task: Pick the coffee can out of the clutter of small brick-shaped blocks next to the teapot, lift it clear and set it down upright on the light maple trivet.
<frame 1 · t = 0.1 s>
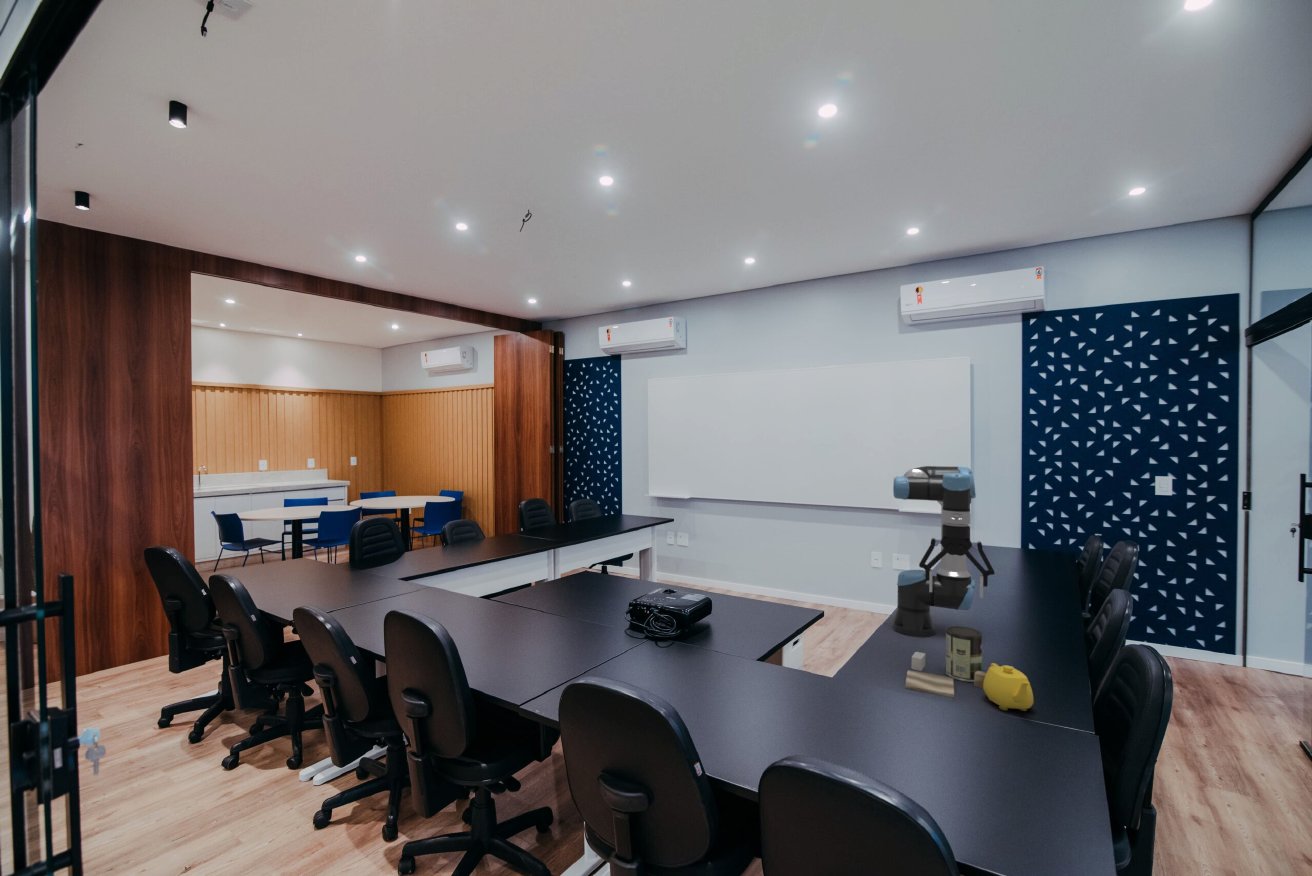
hand: (955, 594, 172), 28 cm above the table, fingers open, 13 cm apart
trivet: (929, 684, 173), on the table
coffee can: (963, 675, 180), on the table
teapot: (1008, 706, 159), on the table
beech brick: (986, 688, 171), on the table
off-white brick: (918, 667, 186), on the table
pale green brick: (1011, 682, 175), on the table
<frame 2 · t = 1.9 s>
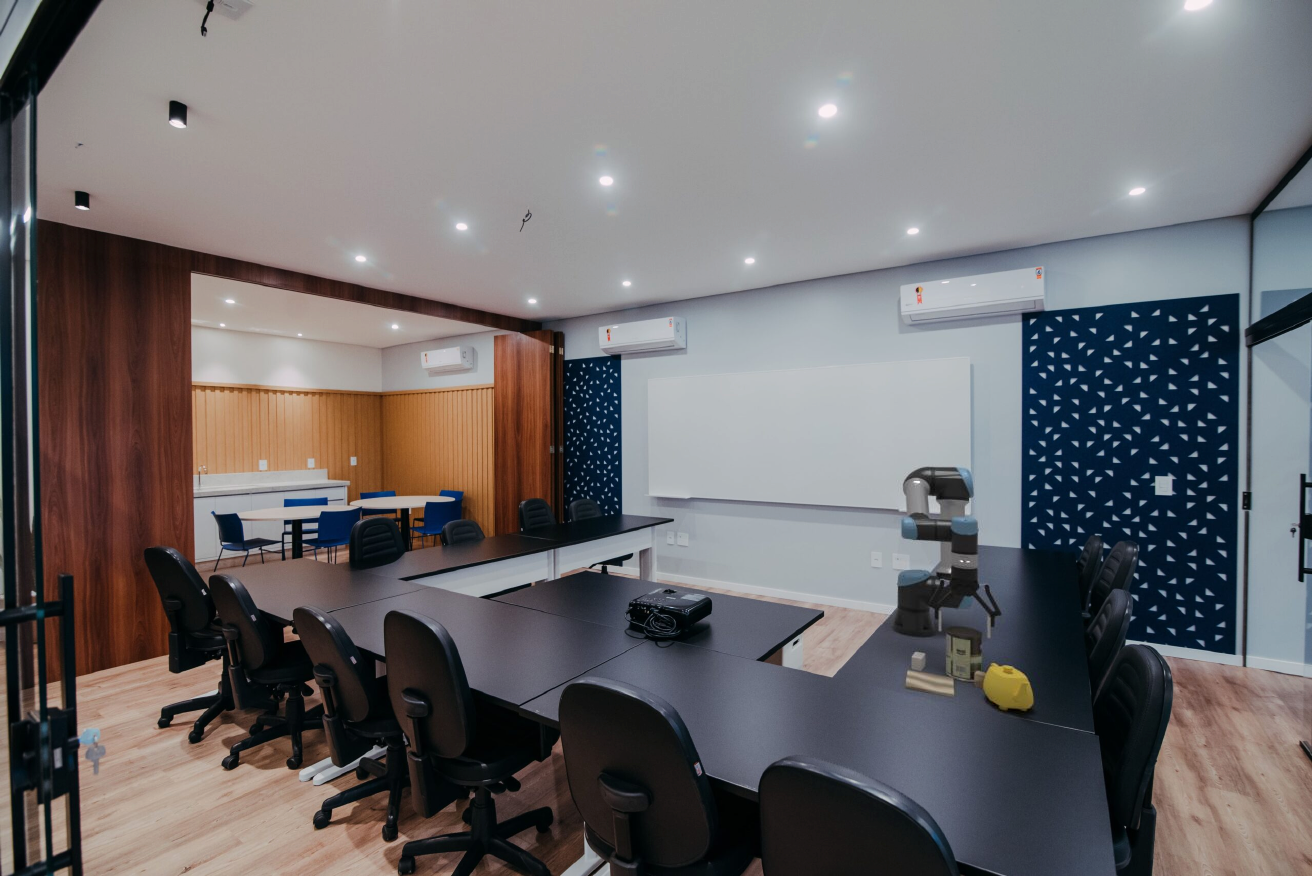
hand: (963, 633, 179), 13 cm above the table, fingers open, 13 cm apart
nothing on the table moved.
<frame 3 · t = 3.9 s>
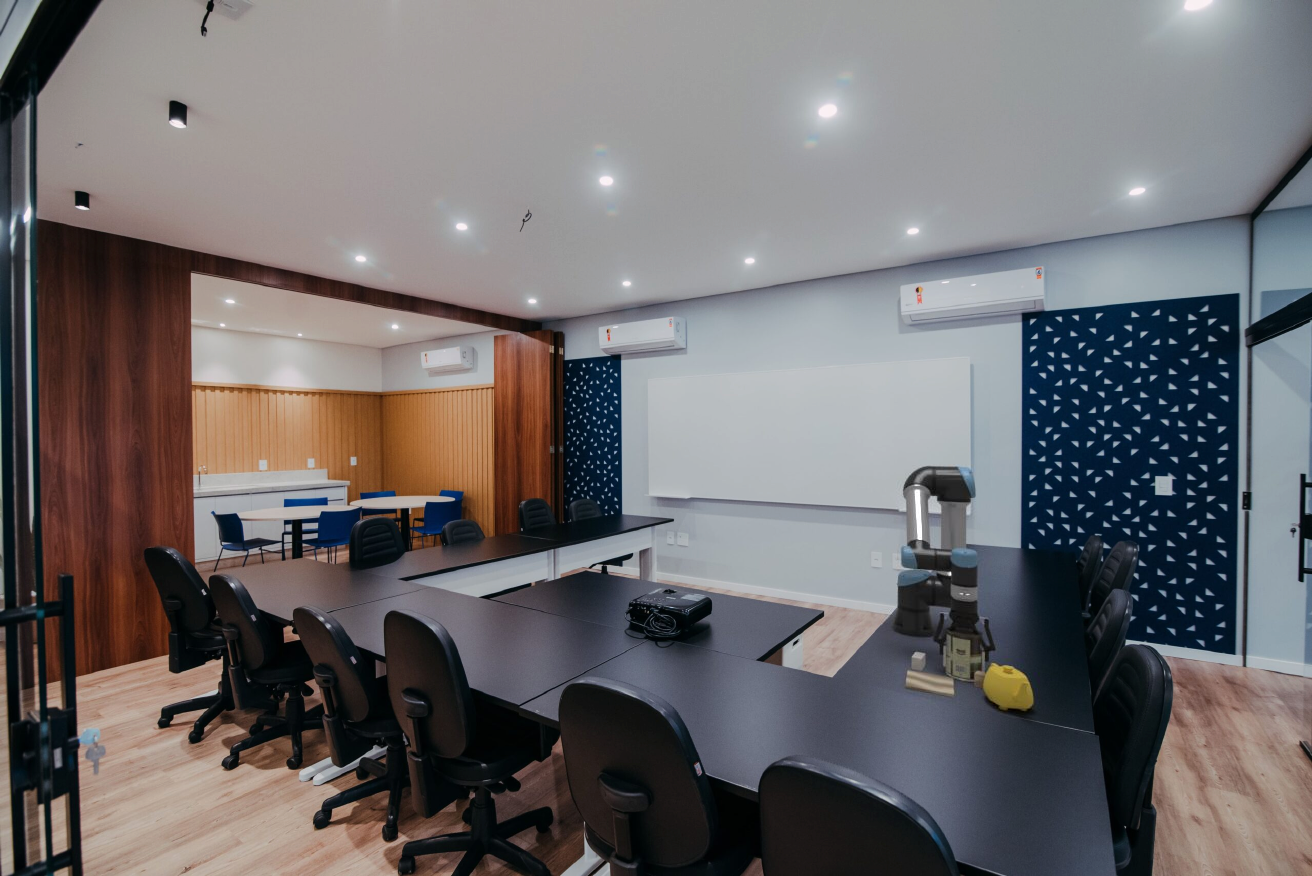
hand: (963, 668, 180), 2 cm above the table, fingers closed on coffee can, 10 cm apart
coffee can: (963, 675, 180), on the table, touching gripper
everything else where it was.
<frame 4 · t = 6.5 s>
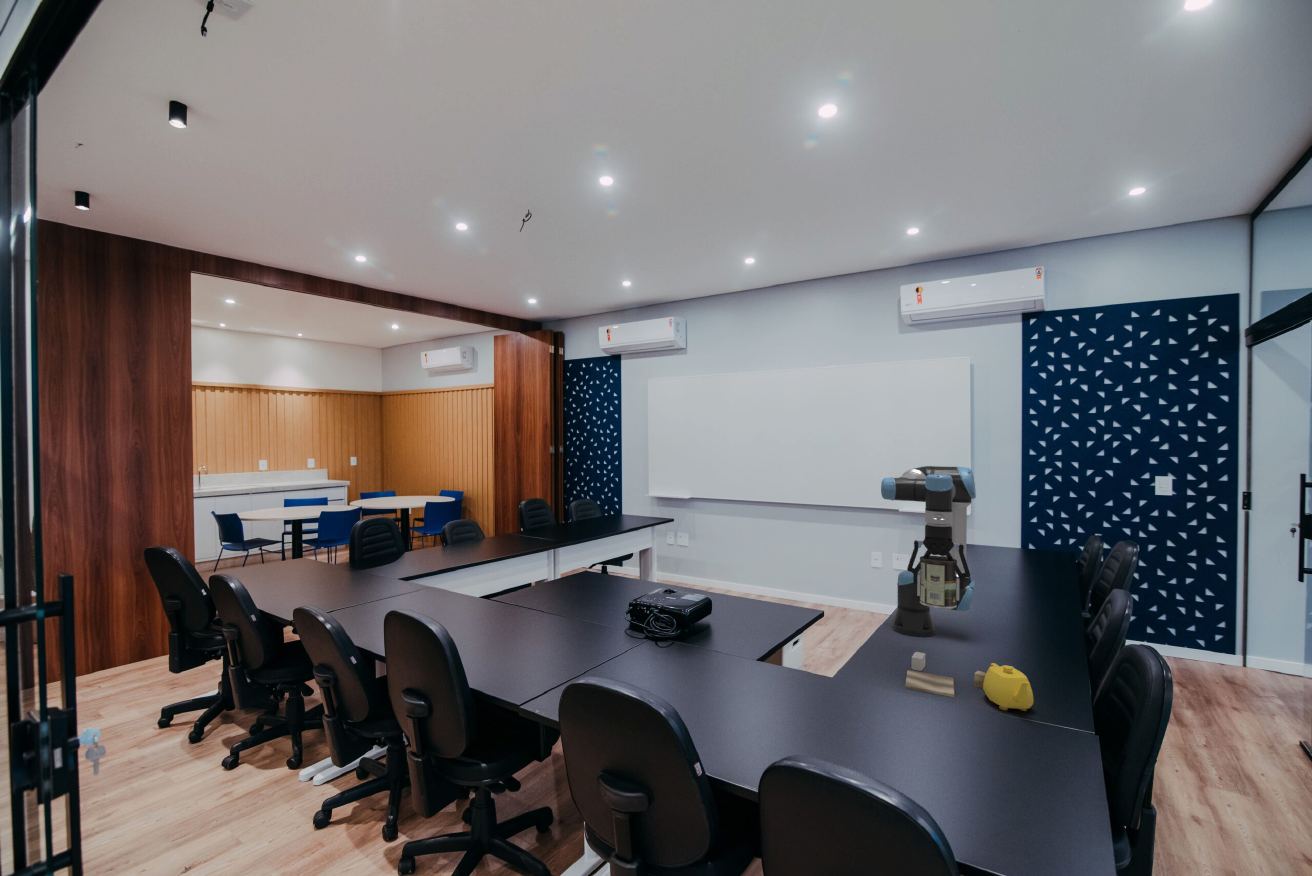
hand: (937, 597, 174), 26 cm above the table, fingers closed on coffee can, 10 cm apart
coffee can: (937, 605, 174), point 24 cm above the table, touching gripper
everything else where it was.
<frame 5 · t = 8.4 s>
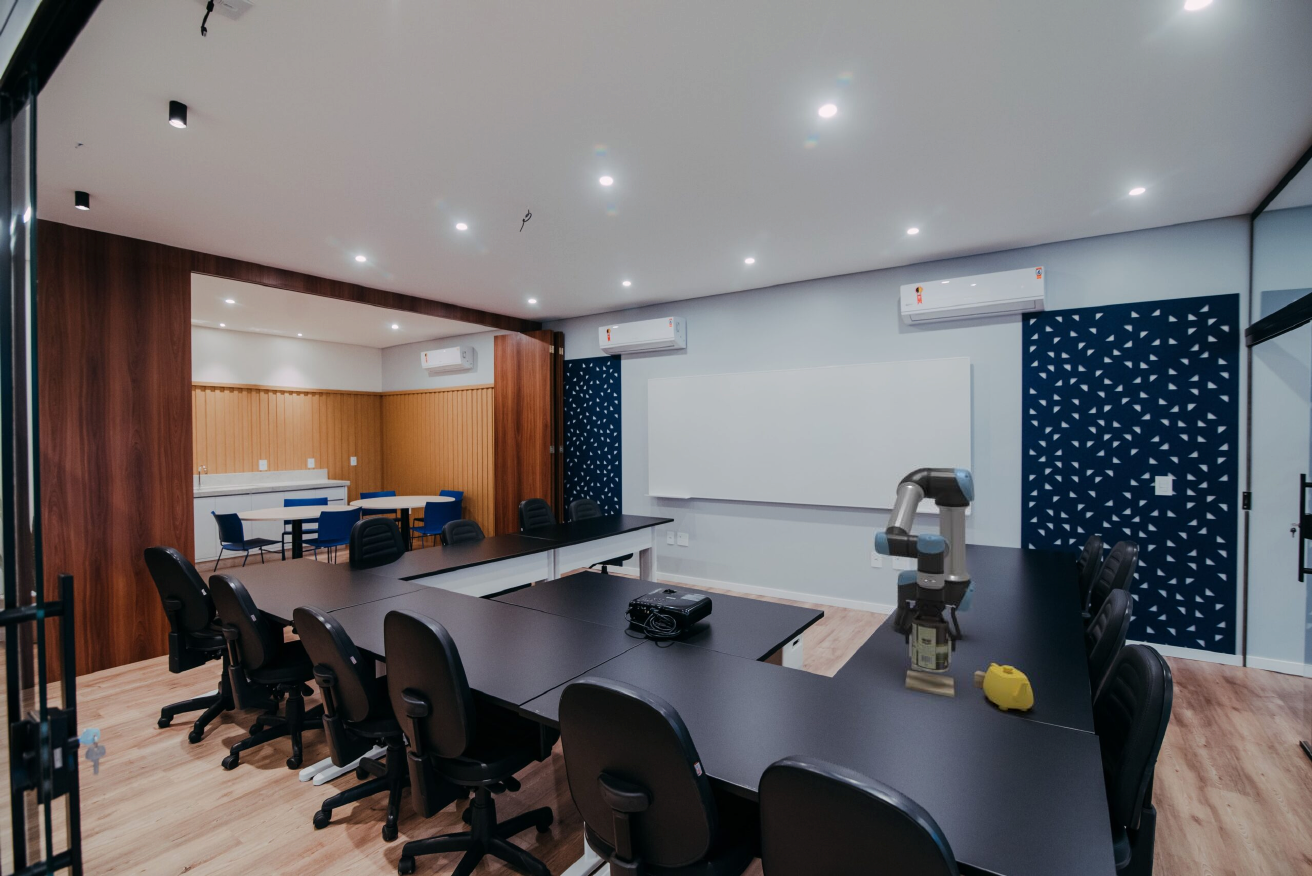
hand: (929, 658, 173), 8 cm above the table, fingers closed on coffee can, 10 cm apart
coffee can: (929, 666, 173), point 5 cm above the table, touching gripper
everything else where it was.
when the fingers open (4 cm above the table, at t = 9.6 s): coffee can drops 1 cm, resting on trivet.
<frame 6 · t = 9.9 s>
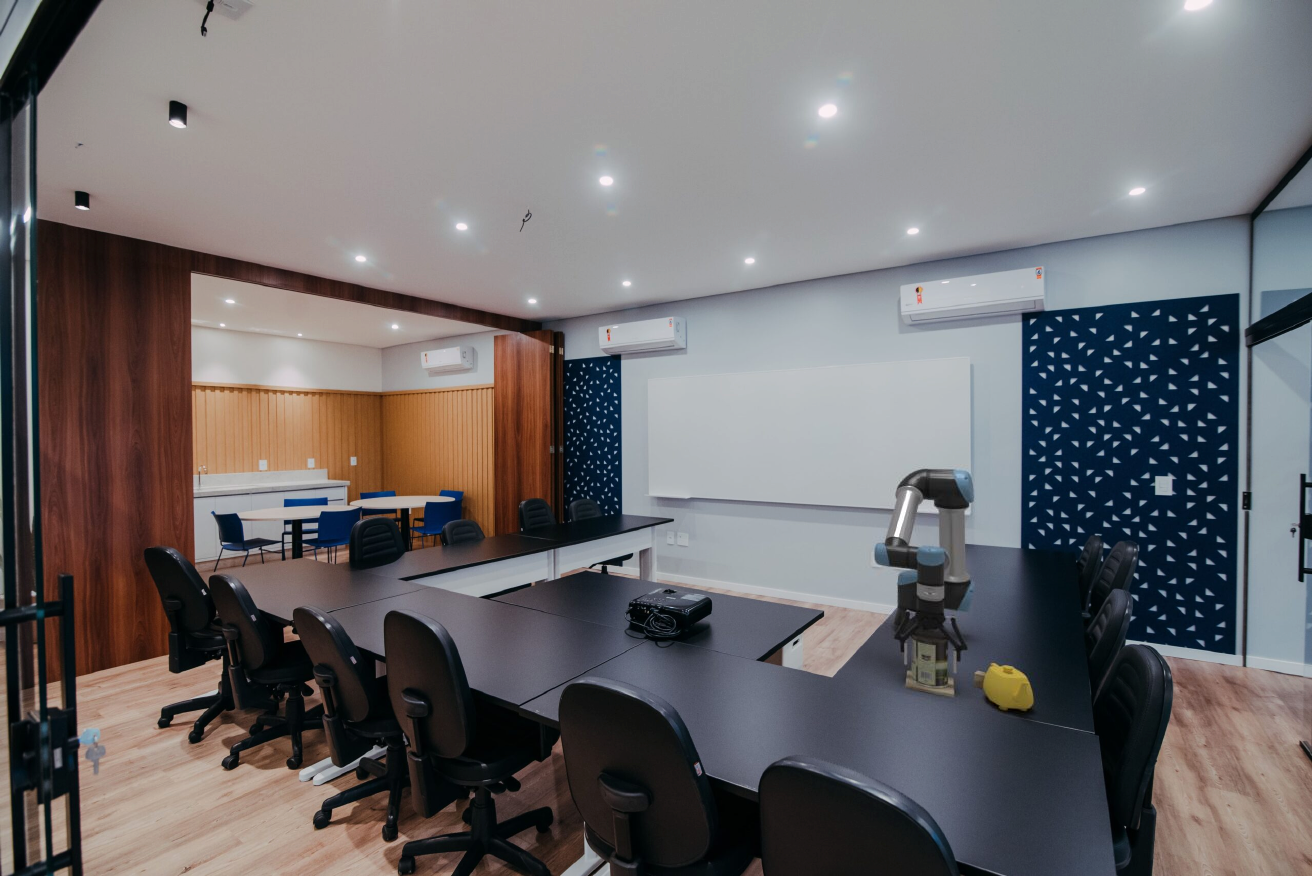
hand: (929, 667, 173), 5 cm above the table, fingers open, 13 cm apart
coffee can: (929, 682, 173), point 1 cm above the table, touching trivet
everything else where it was.
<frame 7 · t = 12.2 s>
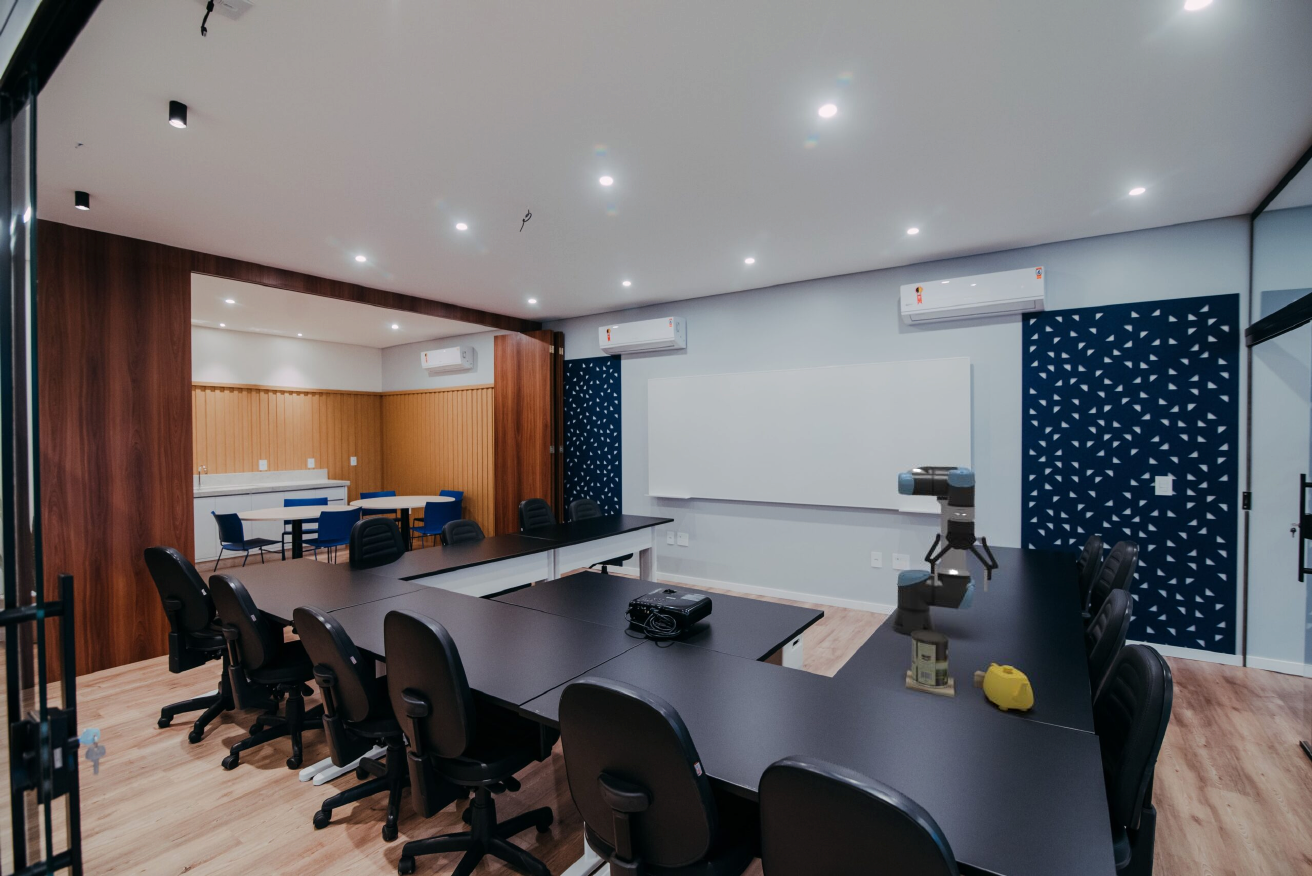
hand: (960, 587, 176), 29 cm above the table, fingers open, 13 cm apart
nothing on the table moved.
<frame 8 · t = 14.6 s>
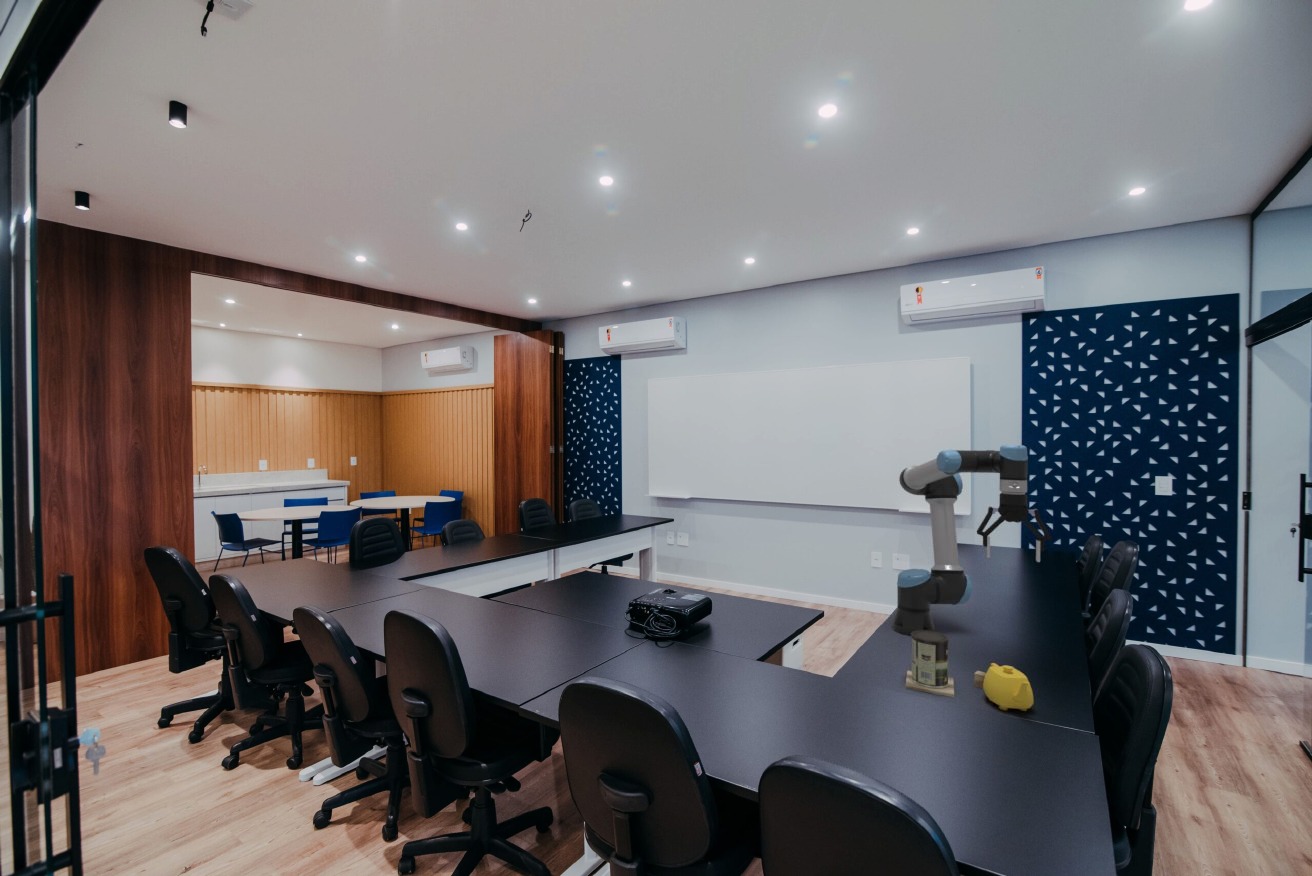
hand: (1012, 559, 182), 37 cm above the table, fingers open, 13 cm apart
nothing on the table moved.
at the end: coffee can inside the target area on the trivet (0.1 cm from its centre), point 0.6 cm above the trivet's base; coffee can tilted 0°; the gripper is holding nothing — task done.
